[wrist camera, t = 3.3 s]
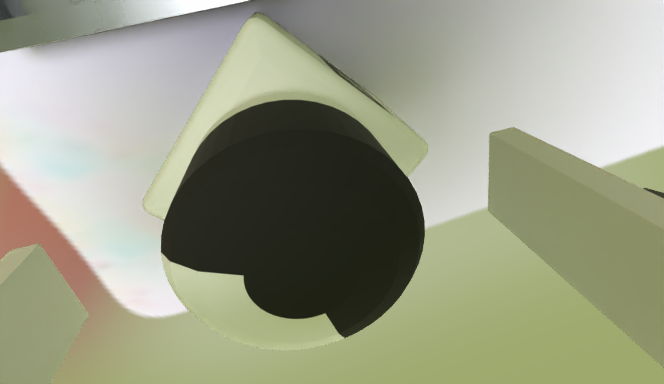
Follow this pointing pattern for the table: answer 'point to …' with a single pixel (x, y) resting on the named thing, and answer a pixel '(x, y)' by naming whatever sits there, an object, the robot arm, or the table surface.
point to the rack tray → (84, 17)
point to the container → (288, 199)
